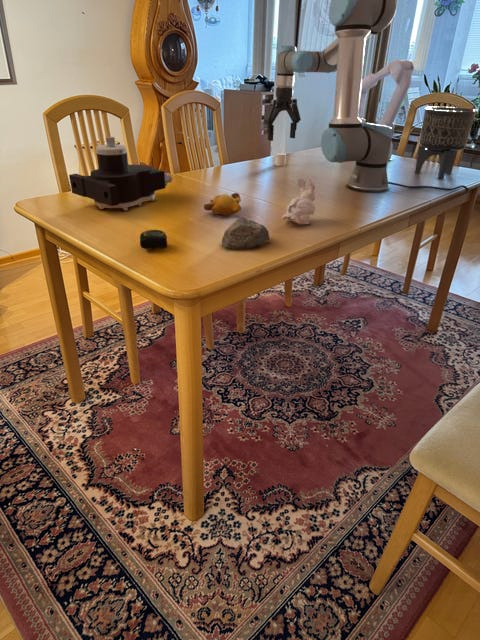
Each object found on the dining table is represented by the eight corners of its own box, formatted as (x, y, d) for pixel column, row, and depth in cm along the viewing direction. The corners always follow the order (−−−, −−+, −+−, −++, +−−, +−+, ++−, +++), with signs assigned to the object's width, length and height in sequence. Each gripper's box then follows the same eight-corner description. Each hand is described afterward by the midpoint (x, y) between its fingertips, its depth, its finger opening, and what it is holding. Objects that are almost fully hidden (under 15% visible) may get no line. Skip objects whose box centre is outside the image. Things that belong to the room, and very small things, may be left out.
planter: (406, 175, 197) (419, 108, 184) (419, 168, 211) (432, 105, 198) (453, 182, 187) (471, 112, 174) (463, 174, 201) (480, 109, 188)
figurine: (321, 218, 142) (325, 177, 135) (298, 231, 131) (302, 187, 125) (298, 213, 146) (301, 173, 139) (274, 225, 135) (277, 182, 128)
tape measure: (140, 252, 115) (139, 238, 113) (141, 242, 120) (140, 229, 119) (167, 251, 116) (166, 237, 114) (167, 241, 121) (166, 228, 120)
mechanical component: (62, 136, 139) (140, 127, 159) (73, 204, 150) (145, 188, 170) (104, 145, 127) (182, 134, 147) (113, 218, 138) (185, 199, 158)
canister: (277, 166, 209) (277, 155, 207) (273, 164, 213) (274, 153, 211) (286, 165, 211) (287, 154, 208) (282, 163, 215) (283, 152, 212)
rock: (255, 233, 128) (256, 211, 124) (276, 242, 122) (278, 219, 119) (217, 244, 120) (217, 220, 117) (239, 254, 115) (239, 230, 111)
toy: (200, 206, 138) (209, 192, 151) (208, 225, 141) (216, 210, 154) (234, 195, 135) (241, 182, 148) (241, 215, 138) (247, 200, 151)
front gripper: (299, 85, 205) (295, 136, 216) (257, 87, 192) (255, 140, 202) (311, 86, 200) (306, 138, 211) (268, 88, 186) (266, 142, 197)
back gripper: (341, 107, 234) (338, 135, 241) (359, 110, 223) (355, 139, 230) (352, 106, 237) (349, 134, 244) (370, 109, 226) (366, 138, 232)
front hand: (281, 139), depth 206 cm, fingers open, 13 cm apart
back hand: (352, 136), depth 237 cm, fingers open, 7 cm apart
